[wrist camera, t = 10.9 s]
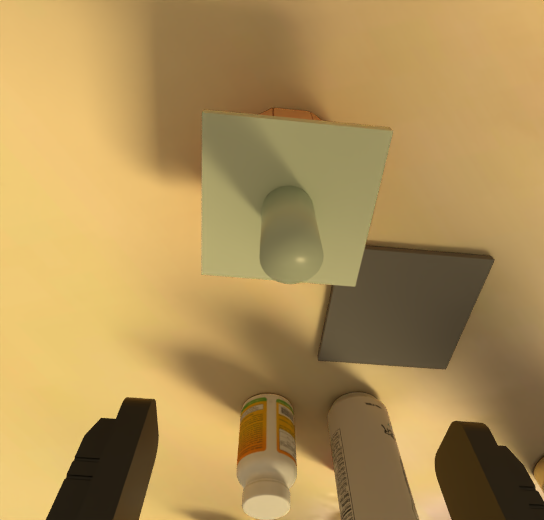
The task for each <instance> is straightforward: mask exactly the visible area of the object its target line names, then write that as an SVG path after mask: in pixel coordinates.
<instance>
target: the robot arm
mask: <svg viewBox="0 0 544 520" xmlns="http://www.w3.org/2000/svg"><path fill="white" fill-rule="evenodd" d="M158 436H159V435H158V422H157V410H156V401H155V399H143V398H129V397H127V398H125V399H124V401H123V403H122V405H121V407H120V410H119V412H118V415H117V417H116V419H109V418H101V419H100V420H99V421H98V422H97V423H96V424H95V425H94V426H93V427H92V428H91V429H90V430H89V431H88V432H87V433H86V435H85V436H84V438H83V440H82V442H81V444H80V447H79V449H78V451H77V453H76V455H75V459H74V461H73V462H72V464H71V466H70V468H69V471H68V473H67V477H66V479H64V481H63V484H62V486H61V488H60V490H59V492H58V494H57V497H56V499H55V501H54V503H53V505H52V508H51V510H50V512H49V514H48V516H47V518H46V520H139V517H140V513H141V509H142V506H143V502H144V498H145V495H146V491H147V487H148V484H149V480H150V476H151V473H152V469H153V466H154V462H155V458H156V453H157V448H158ZM435 472H436V476H437V480H438V482H439V485H440V488H441V491H442V494H443V497H444V500H445V502H446V505H447V508H448V511H449V514H450V517H451V519H452V520H544V501H543V499H542V497H541V496H540V494H539V492H538V491H536V489H535V485H534V483H533V481H532V479H531V478H530V476H529V474H528V472H527V471H526V469H525V467H524V465H523V464H522V463H521V462H520V461H519V460H518V459H517V458H516V457H515V456H514V454H513V453H512V452H511V451H510V450H509V449H508V448H507V447H506V446H498V445H497V443H496V441H495V439H494V437H493V435H492V433H491V431H490V430H489V428H488V427H487V426H486V425H485V424H483V423H477V422H462V421H454V422H452V423H451V425H450V427H449V429H448V431H447V433H446V435H445V437H444V439H443V441H442V443H441V445H440V447H439V449H438V451H437V453H436V456H435ZM534 476H535V479H536V480H537V482H538V484H539V486H540V488H541V489H542V491H543V493H544V457H543V458H542V459H541V460H540V461H539V462H538V463H537V465H536V467H535V469H534Z"/></svg>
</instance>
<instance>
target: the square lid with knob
mask: <svg viewBox="0 0 544 520" xmlns="http://www.w3.org/2000/svg"><path fill="white" fill-rule="evenodd" d="M392 135H393V130H392V129H391V128H390V127H381V126H370V125H360V124H350V123H340V122H329V121H319V120H309V119H299V118H289V117H278V116H268V115H258V114H248V113H237V112H227V111H217V110H207V109H204V110H203V112H202V275H213V276H225V277H238V278H251V279H264V280H275V281H277V282H280V283H285V284H297V283H301V282H302V283H314V284H327V285H340V286H353V287H355V285H356V281H357V277H358V273H359V269H360V265H361V261H362V257H363V253H364V249H365V245H366V241H367V236H368V232H369V228H370V224H371V220H372V216H373V212H374V208H375V204H376V200H377V196H378V192H379V188H380V183H381V179H382V175H383V171H384V167H385V163H386V159H387V155H388V151H389V147H390V143H391V139H392Z"/></svg>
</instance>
